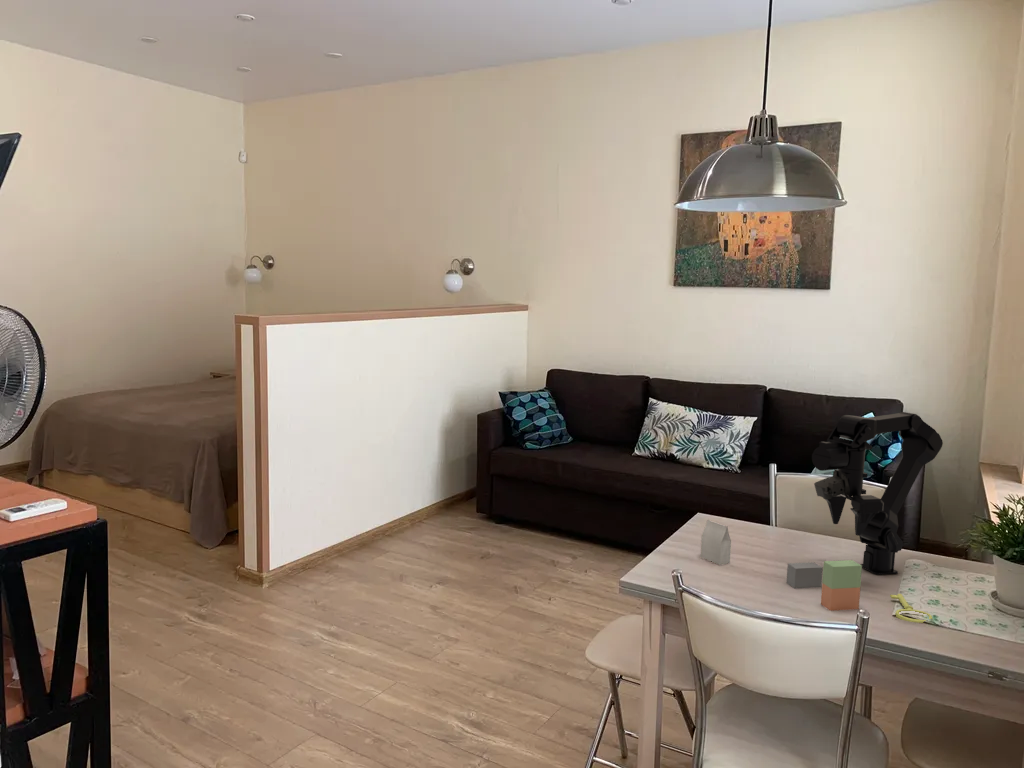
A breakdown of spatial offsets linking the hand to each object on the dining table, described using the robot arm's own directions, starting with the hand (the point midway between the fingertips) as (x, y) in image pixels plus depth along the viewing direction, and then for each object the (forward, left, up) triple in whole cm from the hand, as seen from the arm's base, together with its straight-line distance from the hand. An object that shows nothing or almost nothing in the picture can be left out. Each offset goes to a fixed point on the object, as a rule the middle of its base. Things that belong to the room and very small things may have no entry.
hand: (846, 529), depth 189 cm
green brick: (+12, +17, -7) cm, 22 cm away
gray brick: (+13, +4, -12) cm, 18 cm away
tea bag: (+27, -15, -12) cm, 33 cm away
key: (-2, +21, -13) cm, 25 cm away
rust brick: (+12, +17, -12) cm, 24 cm away
